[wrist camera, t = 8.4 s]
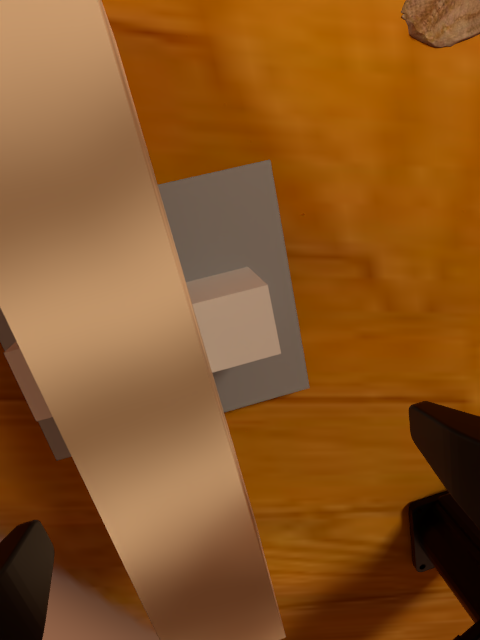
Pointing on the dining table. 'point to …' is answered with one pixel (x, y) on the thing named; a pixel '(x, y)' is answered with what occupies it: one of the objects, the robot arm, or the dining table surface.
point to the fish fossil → (442, 20)
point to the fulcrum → (220, 291)
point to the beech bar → (119, 327)
